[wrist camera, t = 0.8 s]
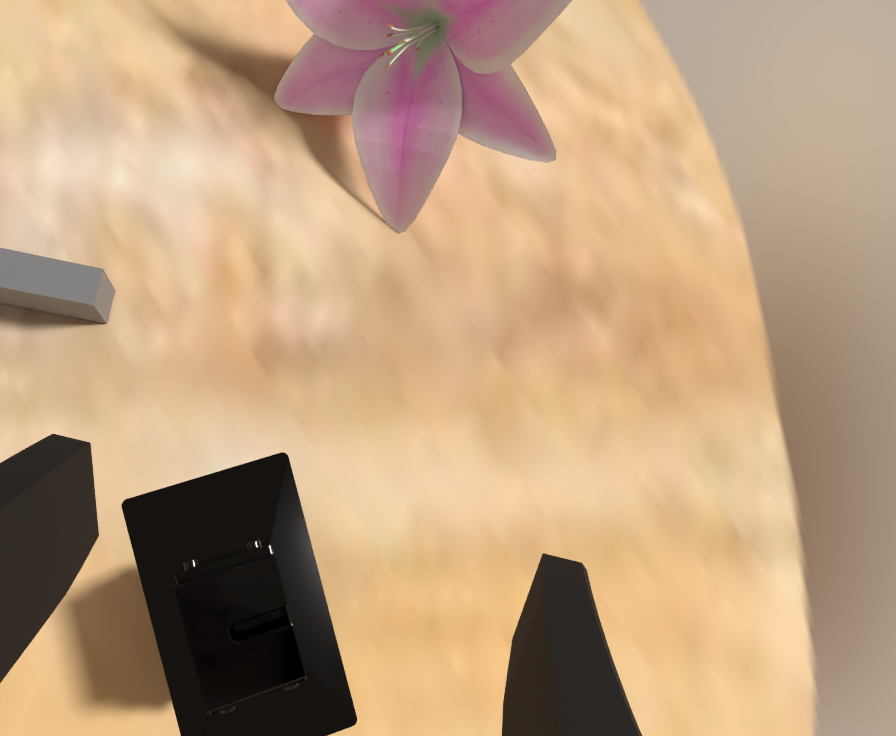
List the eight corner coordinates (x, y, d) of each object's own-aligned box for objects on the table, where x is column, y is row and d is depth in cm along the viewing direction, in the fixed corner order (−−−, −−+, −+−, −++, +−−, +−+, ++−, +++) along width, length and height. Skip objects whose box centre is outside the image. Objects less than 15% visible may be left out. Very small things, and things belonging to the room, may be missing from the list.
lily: (231, -38, 31) (139, -114, 22) (509, -159, 30) (534, -293, 21) (348, 244, 34) (310, 281, 25) (605, 144, 33) (663, 144, 24)
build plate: (388, 754, 27) (417, 803, 23) (173, 841, 25) (158, 914, 21) (294, 410, 28) (304, 393, 24) (80, 467, 26) (48, 461, 22)
